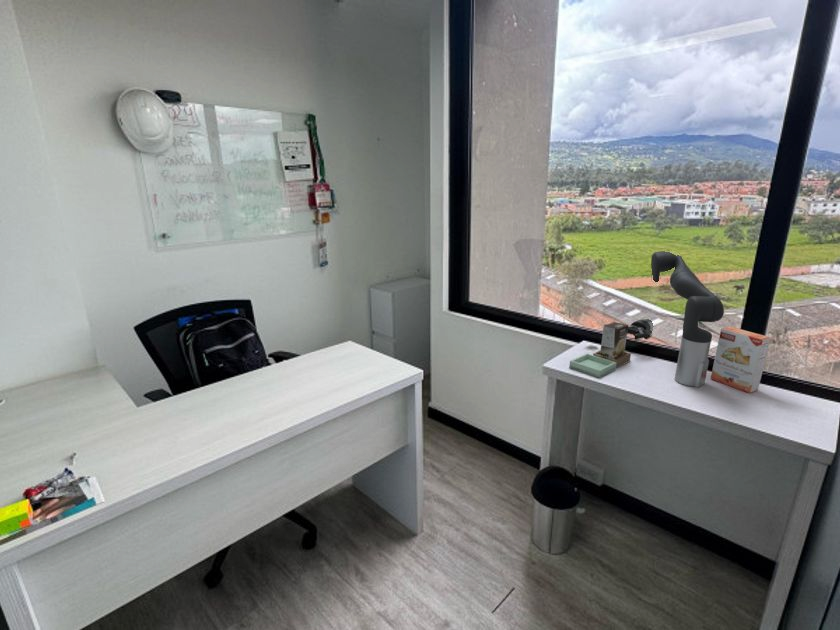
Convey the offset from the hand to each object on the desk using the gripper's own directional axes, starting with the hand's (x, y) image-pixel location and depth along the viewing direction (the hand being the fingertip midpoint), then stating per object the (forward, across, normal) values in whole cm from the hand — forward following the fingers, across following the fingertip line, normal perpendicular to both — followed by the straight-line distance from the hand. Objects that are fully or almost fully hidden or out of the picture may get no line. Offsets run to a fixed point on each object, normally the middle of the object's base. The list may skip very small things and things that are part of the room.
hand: (625, 334), depth 191 cm
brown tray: (+10, 0, +10) cm, 14 cm away
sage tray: (+24, -1, +10) cm, 26 cm away
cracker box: (-3, +41, +10) cm, 42 cm away
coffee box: (+10, 0, +10) cm, 14 cm away
